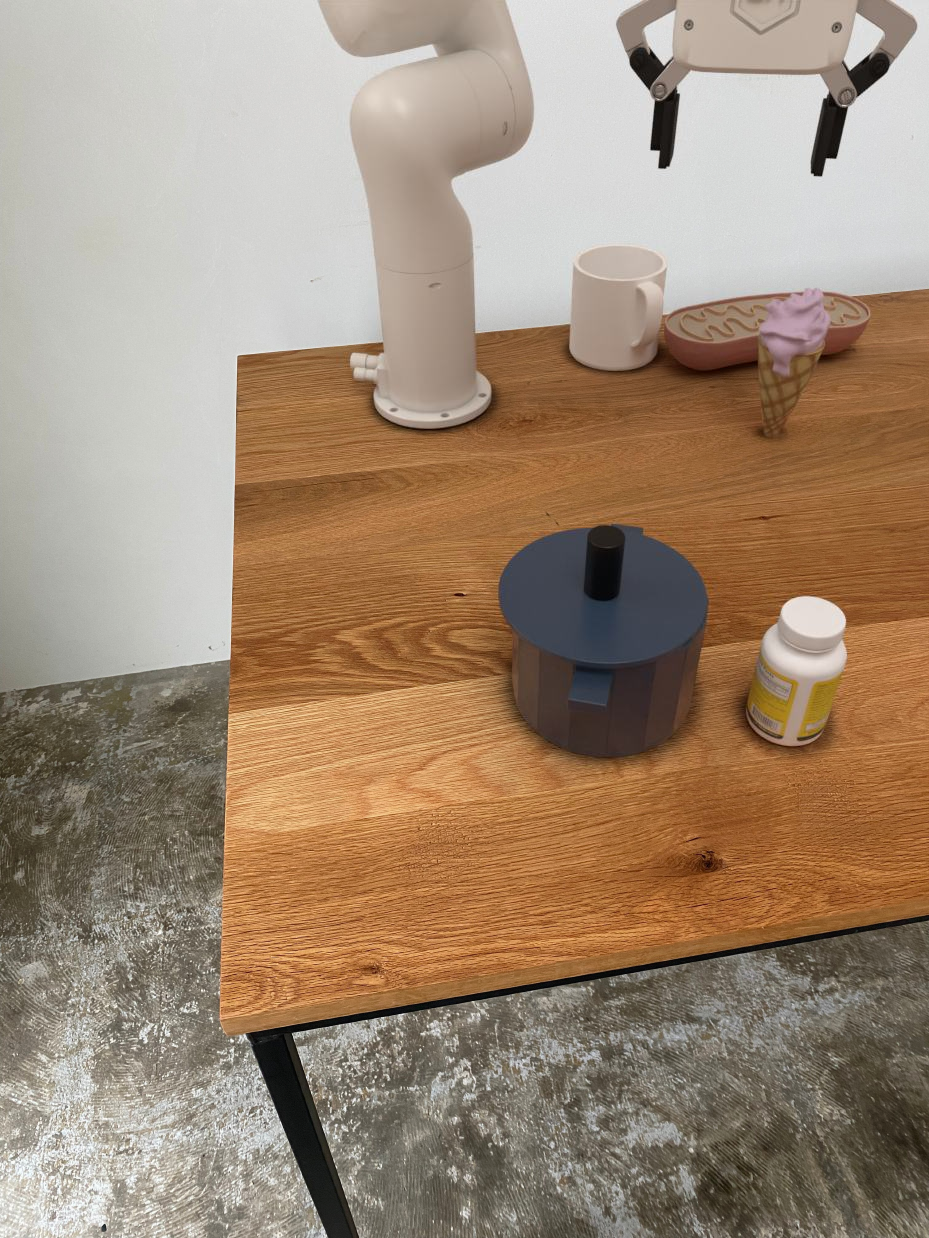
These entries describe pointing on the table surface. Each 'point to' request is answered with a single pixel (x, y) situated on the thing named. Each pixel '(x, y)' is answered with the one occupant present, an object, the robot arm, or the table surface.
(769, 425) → the ice cream cone
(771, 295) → the mitochondrion model
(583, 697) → the pot
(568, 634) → the pot lid
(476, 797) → the table surface
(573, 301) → the mug
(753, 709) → the supplement bottle
